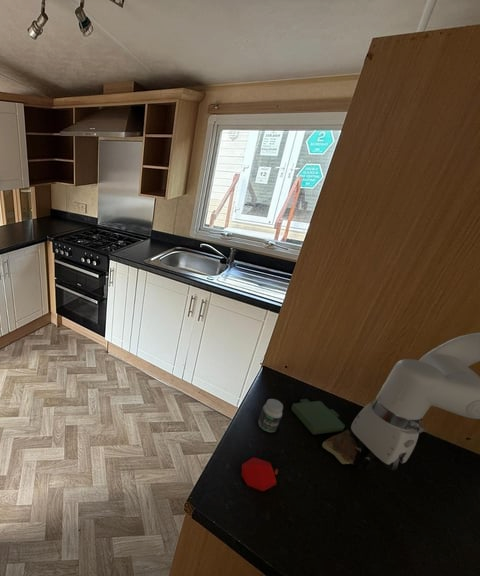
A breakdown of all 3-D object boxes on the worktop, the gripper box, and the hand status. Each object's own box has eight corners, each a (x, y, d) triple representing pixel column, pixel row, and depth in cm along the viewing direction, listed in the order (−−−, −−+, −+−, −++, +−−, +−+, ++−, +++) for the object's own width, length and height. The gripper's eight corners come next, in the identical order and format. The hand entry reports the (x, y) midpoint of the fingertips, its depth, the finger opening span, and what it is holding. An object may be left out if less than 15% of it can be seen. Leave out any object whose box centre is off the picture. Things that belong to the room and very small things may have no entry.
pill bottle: (258, 429, 87) (265, 407, 83) (257, 416, 91) (264, 395, 87) (277, 435, 85) (285, 413, 81) (275, 422, 89) (283, 400, 85)
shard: (347, 432, 86) (349, 427, 85) (378, 456, 80) (381, 451, 79) (319, 445, 82) (322, 440, 82) (349, 471, 76) (352, 466, 75)
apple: (240, 474, 70) (279, 472, 67) (235, 452, 76) (271, 449, 73) (247, 499, 71) (286, 499, 68) (242, 475, 77) (277, 474, 75)
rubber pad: (318, 402, 96) (320, 397, 95) (346, 430, 86) (349, 425, 85) (288, 405, 94) (290, 400, 93) (313, 434, 85) (315, 429, 84)
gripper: (448, 440, 61) (405, 495, 70) (378, 385, 75) (348, 437, 83) (415, 444, 60) (375, 499, 69) (350, 388, 74) (323, 440, 82)
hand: (360, 465), depth 76 cm, fingers closed
